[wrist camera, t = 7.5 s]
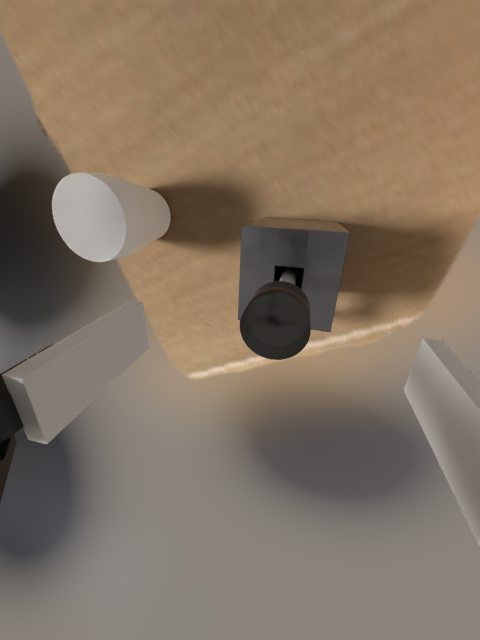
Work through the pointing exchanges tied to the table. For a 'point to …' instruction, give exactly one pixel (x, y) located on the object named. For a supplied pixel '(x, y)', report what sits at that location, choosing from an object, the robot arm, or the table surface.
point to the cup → (107, 215)
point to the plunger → (278, 316)
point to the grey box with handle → (295, 261)
